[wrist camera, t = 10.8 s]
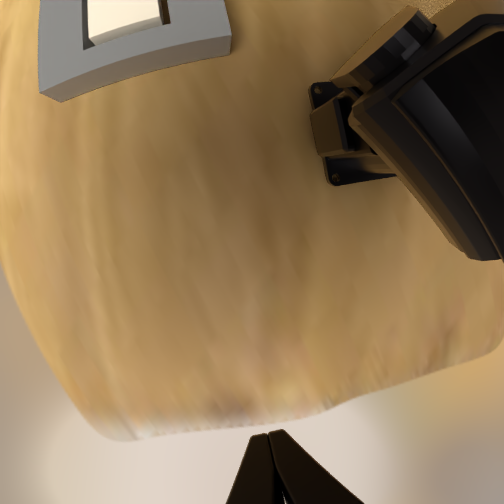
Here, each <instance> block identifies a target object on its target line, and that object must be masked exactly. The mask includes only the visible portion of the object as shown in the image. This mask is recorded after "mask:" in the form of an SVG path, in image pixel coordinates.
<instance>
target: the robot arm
mask: <svg viewBox="0 0 504 504" xmlns="http://www.w3.org/2000/svg"><path fill="white" fill-rule="evenodd" d="M330 81H331V82H317V83H313V84H312V85H311V86H310V87H309V96H310V101H311V105H312V109H313V111H312V113H311V114H310V119H311V124H312V129H313V134H314V138H315V143H316V148H317V153H318V155H320V156H321V157H322V158H323V163H324V168H325V174H326V179H327V182H328V183H329V184H330V185H332V186H340V185H346V184H351V183H357V182H363V181H369V180H375V179H382V178H388V177H394V176H398V178H399V179H400V180H401V181H402V182H403V183H404V185H405V186H406V187H407V188H408V189H409V191H410V192H411V193H412V194H413V195H414V197H415V198H416V199H417V200H418V201H419V203H420V204H421V205H422V206H423V208H424V209H425V210H426V212H427V213H428V214H429V215H430V217H431V218H432V219H433V221H434V222H435V223H436V224H437V226H438V227H439V228H440V230H441V231H442V233H443V234H444V235H445V237H446V238H447V239H448V241H449V242H450V243H451V244H452V245H454V246H455V247H456V248H458V249H459V250H460V251H461V252H464V253H465V254H466V256H467V257H468V258H470V259H475V260H480V261H487V260H499V259H502V261H503V263H504V0H456V1H454V2H453V3H452V4H450V5H449V6H447V7H446V8H444V9H443V10H441V11H440V12H438V13H437V14H436V15H434V16H433V17H431V18H430V19H428V18H427V17H426V16H425V15H424V14H423V13H422V12H421V11H420V10H419V9H418V8H415V7H411V6H407V7H405V8H404V9H403V10H402V11H400V12H399V13H398V14H397V15H395V16H394V17H393V18H392V19H391V20H389V21H388V22H387V23H386V24H384V25H383V26H382V27H381V28H380V29H379V30H378V31H377V32H376V33H375V34H374V35H373V36H372V37H371V38H370V39H369V40H368V41H367V42H366V43H365V44H364V45H363V46H362V47H361V48H360V49H359V50H358V51H357V52H356V53H355V54H354V55H353V56H352V57H351V58H350V59H349V60H348V61H347V62H346V63H345V64H344V65H343V66H342V67H341V68H340V69H339V70H338V72H337V73H336V74H335V75H334V76H333V77H332V78H331V79H330ZM314 88H318V89H319V90H320V94H317V93H315V91H314ZM334 174H336V175H337V177H338V179H337V181H333V179H332V176H333V175H334ZM283 495H284V496H283ZM284 498H285V500H284ZM285 502H286V504H364V503H363V502H362V501H361V500H360V499H358V498H357V497H356V496H355V495H354V494H353V493H351V492H350V491H349V490H348V489H347V488H346V487H344V486H343V485H342V484H341V483H340V482H339V481H338V480H337V479H335V478H334V477H333V476H332V475H331V474H330V473H329V472H328V471H326V470H325V469H324V468H323V467H322V466H321V465H320V464H319V463H318V462H317V461H316V460H315V459H314V458H312V456H310V455H309V454H308V453H307V452H306V451H305V450H304V449H303V448H302V447H301V446H300V445H299V444H298V443H297V442H296V441H295V440H294V439H293V438H292V437H291V436H290V435H289V434H288V433H287V432H286V431H285V430H283V429H280V430H276V431H271V432H269V433H268V435H267V434H266V433H262V434H258V435H253V436H252V437H251V438H250V440H249V443H248V446H247V448H246V451H245V454H244V457H243V459H242V462H241V465H240V467H239V471H238V473H237V476H236V478H235V481H234V483H233V486H232V489H231V492H230V494H229V496H228V499H227V502H226V504H285Z"/></svg>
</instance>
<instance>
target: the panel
mask: <svg viewBox="0 0 504 504" xmlns="http://www.w3.org/2000/svg"><path fill="white" fill-rule="evenodd" d="M167 2H168V9H169V15H170V21H171V24H166V25H162V26H158V27H154V28H151V29H147V30H143V31H140V32H136V33H133V34H129V35H126V36H123V37H120V38H117V39H114V40H111V41H108V42H105V43H102V44H99V45H97V46H95V44H94V43H93V42H92V41H91V40H90V39H89V32H88V0H40V11H39V29H38V79H39V93H41V94H43V95H45V96H48V97H50V98H52V99H54V100H56V101H58V102H64V101H66V100H69V99H71V98H74V97H76V96H79V95H81V94H84V93H87V92H89V91H92V90H95V89H97V88H100V87H103V86H106V85H109V84H112V83H115V82H118V81H121V80H124V79H128V78H131V77H134V76H138V75H141V74H145V73H148V72H152V71H156V70H159V69H163V68H167V67H171V66H176V65H180V64H184V63H189V62H194V61H199V60H204V59H209V58H214V57H220V56H226V55H229V52H230V45H231V38H232V33H231V29H230V24H229V20H228V16H227V12H226V7H225V3H224V0H167Z"/></svg>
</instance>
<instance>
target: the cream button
mask: <svg viewBox="0 0 504 504" xmlns="http://www.w3.org/2000/svg"><path fill="white" fill-rule="evenodd" d="M162 25H165V24H164V17H163V10H162V4H161V0H88V32H89V39H90V40H91V41H92V42H93V43H94V44H95V46H97V45H99V44H102V43H105V42H108V41H111V40H114V39H117V38H120V37H123V36H126V35H129V34H133V33H136V32H140V31H143V30H147V29H151V28H154V27H158V26H162Z"/></svg>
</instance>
